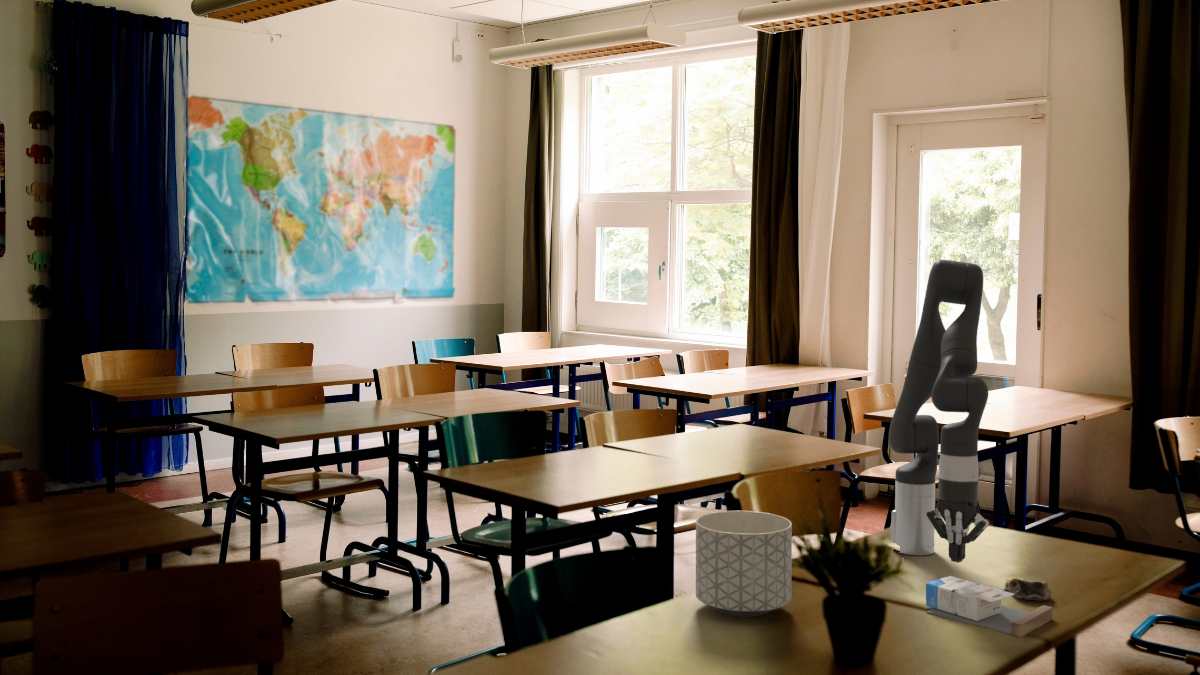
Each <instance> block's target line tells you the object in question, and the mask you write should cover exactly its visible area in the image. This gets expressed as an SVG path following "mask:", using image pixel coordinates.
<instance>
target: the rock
mask: <svg viewBox="0 0 1200 675" xmlns="http://www.w3.org/2000/svg"><path fill="white" fill-rule="evenodd" d="M1005 581H1006V582H1005V583H1004V588H1003V591H1006V592H1009V593H1013V594H1014V595H1013V596H1015V597H1016V598H1018V599H1022V600H1025V601H1032V600H1034V601H1039V602H1043V601H1045V600H1046V601H1047V600H1050V599H1051V594H1052V591H1051V589H1050V588H1049V585H1048V582H1047V581H1044V580H1035V581H1028V580H1026V579H1019V578H1018V577H1015V578H1011V580H1010V579H1006V580H1005Z"/></svg>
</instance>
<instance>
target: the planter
mask: <svg viewBox="0 0 1200 675" xmlns="http://www.w3.org/2000/svg"><path fill="white" fill-rule="evenodd" d="M792 524H793V523H792V521H791V520H790V519H788V518H786V517H784V516H781V515H778V514H774V513H769V512H765V511H764V512H763V511H756V510H755V511H754V510H724V511H722V510H721V511H715V512H708V513H706V514H702V515H700V516H699V517H697V518H696V520H695V597H696V599H697V600H698V601H700V602H701V603H703V604H705V605H707V606H709V607H712V608H714V609H716V610H717V611H719V612H721V613H723V614H725V615H729V616H732V617H736V618H738V617H739V618H755V617H759V616H762V615H765V614H768V613H770V612H772V611H775V610H777V609H780V608H783V607H786V606H787V605H788V604H790V603H791V600H792V564H793V563H792V556H793V554H792V552H793V551H792V550H793V549H792V546H793V545H792V544H793V543H792V542H793V541H792V540H793V536H792V535H793V530H792V529H793V527H792V526H793V525H792Z"/></svg>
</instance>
